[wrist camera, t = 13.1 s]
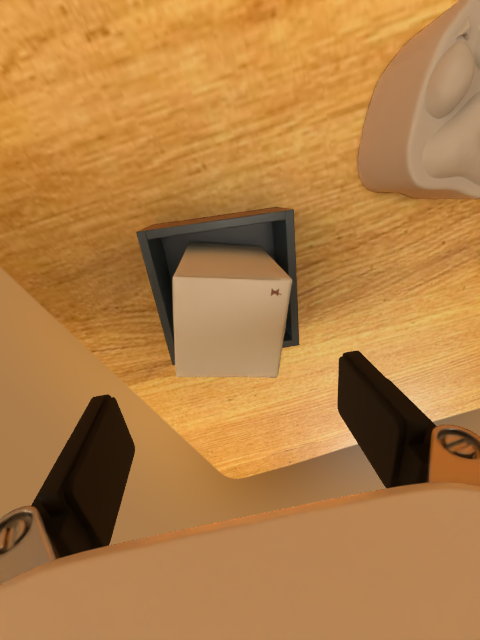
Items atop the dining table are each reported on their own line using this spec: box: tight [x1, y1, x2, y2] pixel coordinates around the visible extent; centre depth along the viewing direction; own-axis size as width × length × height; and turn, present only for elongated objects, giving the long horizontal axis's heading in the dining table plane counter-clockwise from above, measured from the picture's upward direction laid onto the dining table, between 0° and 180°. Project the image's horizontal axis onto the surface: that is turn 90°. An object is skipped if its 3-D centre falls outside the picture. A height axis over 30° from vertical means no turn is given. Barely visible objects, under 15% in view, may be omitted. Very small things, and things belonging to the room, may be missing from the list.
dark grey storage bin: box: [136, 207, 299, 365], centre depth 26 cm, size 12×12×6 cm
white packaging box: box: [173, 242, 292, 378], centre depth 23 cm, size 7×7×13 cm
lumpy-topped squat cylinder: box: [358, 0, 480, 199], centre depth 21 cm, size 10×13×9 cm
